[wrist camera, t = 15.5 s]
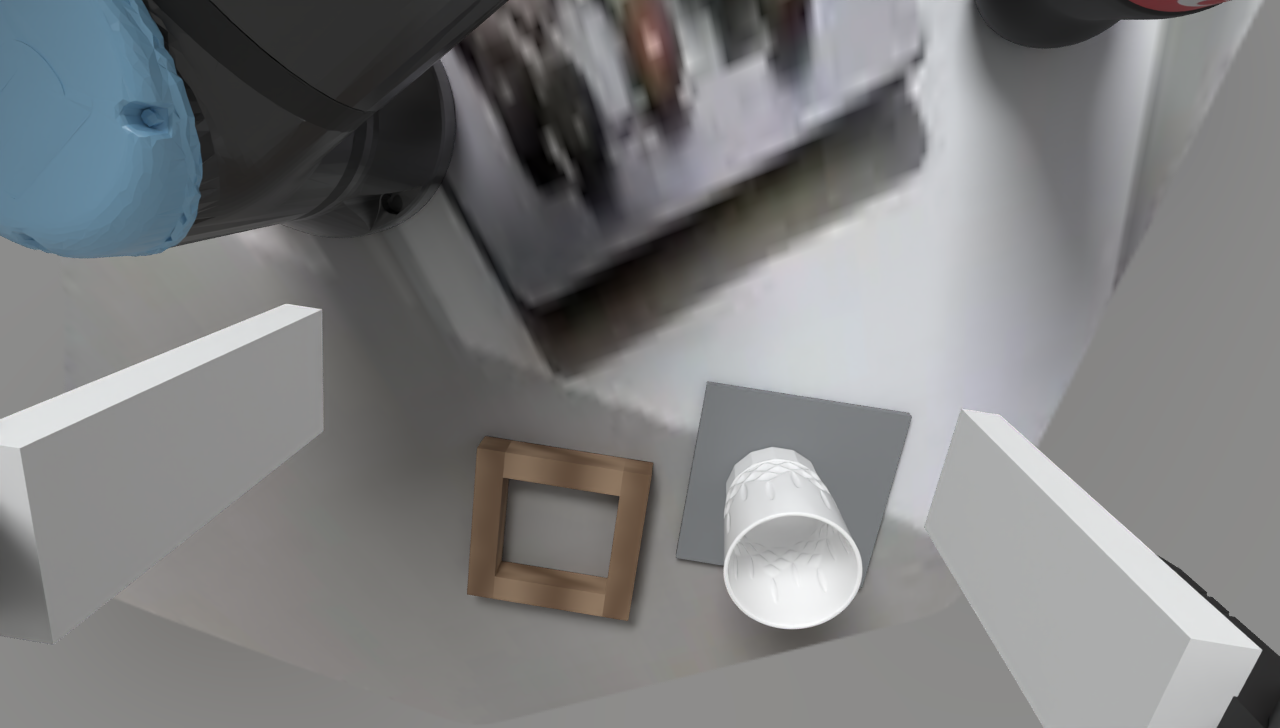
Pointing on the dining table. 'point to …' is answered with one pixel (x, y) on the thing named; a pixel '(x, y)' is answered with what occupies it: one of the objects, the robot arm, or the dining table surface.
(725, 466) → the grey mat
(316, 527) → the dining table surface
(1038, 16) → the cola bottle
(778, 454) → the white cup
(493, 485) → the walnut collar
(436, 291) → the dining table surface
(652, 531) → the dining table surface
